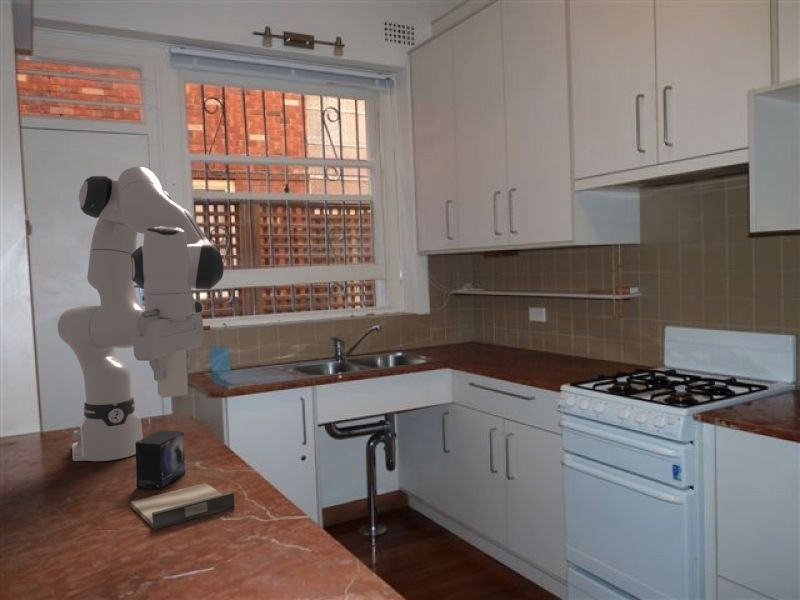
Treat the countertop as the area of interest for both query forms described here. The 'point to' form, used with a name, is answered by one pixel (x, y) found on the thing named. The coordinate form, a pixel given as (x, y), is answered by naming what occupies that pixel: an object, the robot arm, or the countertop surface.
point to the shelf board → (182, 505)
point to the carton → (174, 375)
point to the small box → (160, 459)
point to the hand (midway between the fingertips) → (171, 376)
